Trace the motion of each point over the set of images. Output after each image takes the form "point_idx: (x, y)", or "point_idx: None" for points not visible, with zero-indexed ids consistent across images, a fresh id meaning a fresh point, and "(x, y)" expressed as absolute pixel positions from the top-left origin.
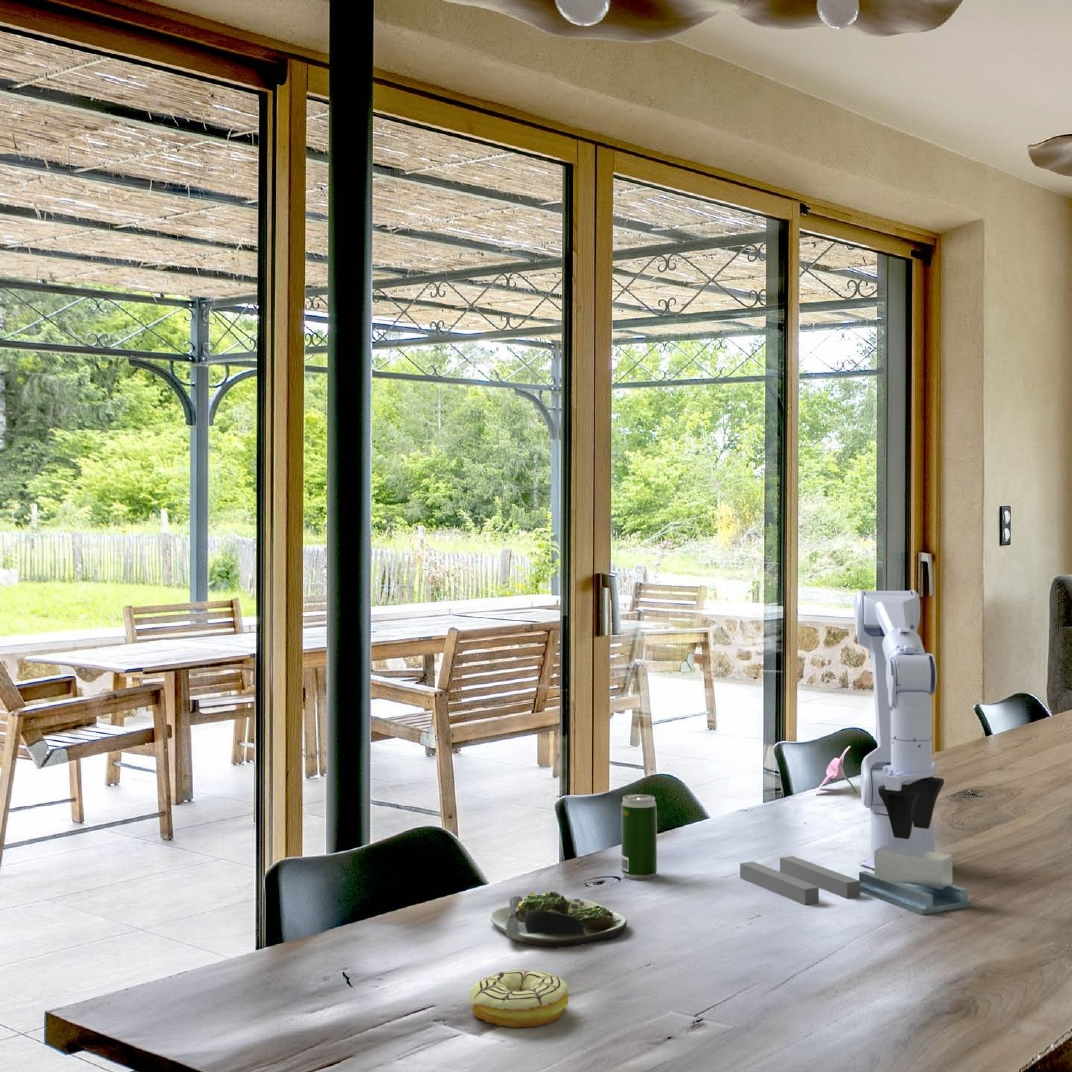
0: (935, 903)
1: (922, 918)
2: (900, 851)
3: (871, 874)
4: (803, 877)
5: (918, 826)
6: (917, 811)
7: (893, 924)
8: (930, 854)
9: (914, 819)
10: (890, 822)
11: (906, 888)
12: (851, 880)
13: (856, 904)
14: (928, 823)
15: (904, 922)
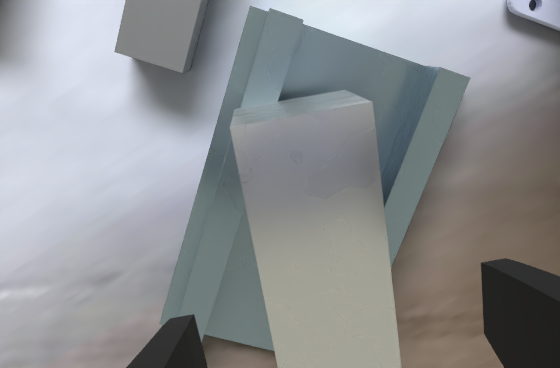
0: (243, 319)
1: (136, 329)
2: (307, 225)
3: (273, 69)
4: None
5: (486, 290)
6: (544, 336)
7: (17, 308)
8: (352, 337)
9: (507, 287)
10: (128, 365)
11: (200, 264)
12: (159, 45)
13: (97, 117)
14: (501, 359)
15: (61, 317)
